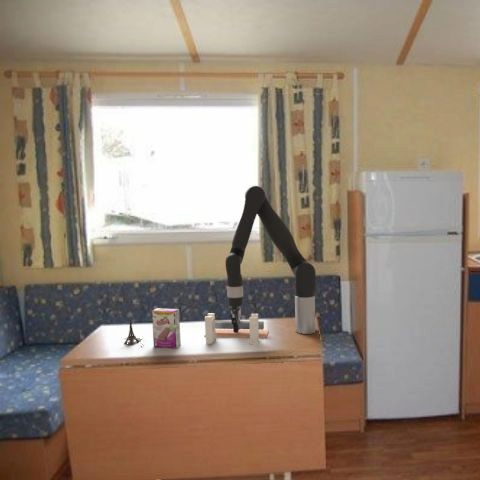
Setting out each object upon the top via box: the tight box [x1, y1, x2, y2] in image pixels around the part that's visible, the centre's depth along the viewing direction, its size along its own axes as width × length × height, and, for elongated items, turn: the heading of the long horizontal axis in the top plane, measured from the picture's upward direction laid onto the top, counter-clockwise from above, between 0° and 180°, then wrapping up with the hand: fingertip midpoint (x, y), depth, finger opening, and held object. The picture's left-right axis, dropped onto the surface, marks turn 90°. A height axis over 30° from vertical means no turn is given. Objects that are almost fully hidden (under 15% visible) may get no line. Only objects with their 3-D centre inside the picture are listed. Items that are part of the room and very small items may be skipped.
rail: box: [215, 320, 265, 330], centre depth 193 cm, size 26×3×3 cm, turn 80°
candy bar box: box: [151, 307, 182, 349], centre depth 180 cm, size 11×5×16 cm, turn 74°
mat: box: [203, 329, 269, 339], centre depth 193 cm, size 29×10×1 cm, turn 80°
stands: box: [204, 312, 260, 346], centre depth 182 cm, size 23×6×12 cm, turn 80°
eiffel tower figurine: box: [123, 317, 143, 348], centre depth 186 cm, size 15×10×13 cm
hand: (236, 330), depth 193 cm, fingers closed on rail, 3 cm apart
